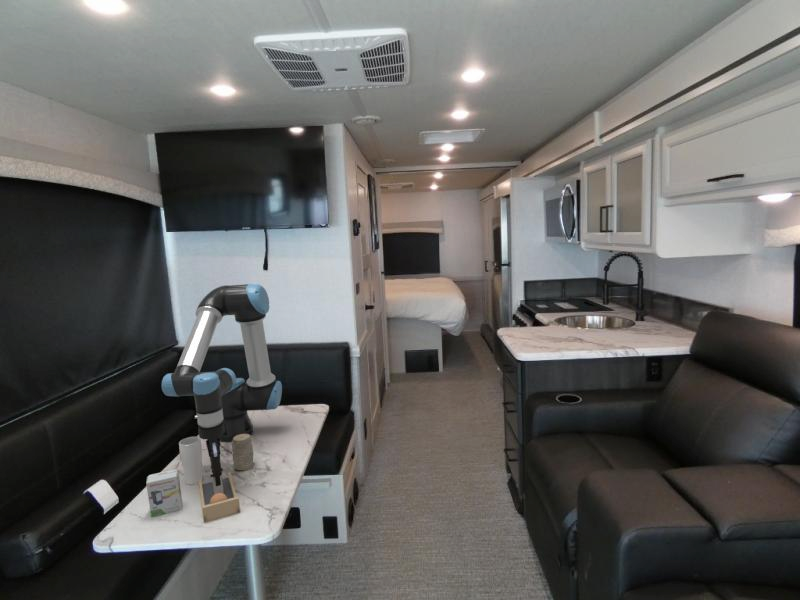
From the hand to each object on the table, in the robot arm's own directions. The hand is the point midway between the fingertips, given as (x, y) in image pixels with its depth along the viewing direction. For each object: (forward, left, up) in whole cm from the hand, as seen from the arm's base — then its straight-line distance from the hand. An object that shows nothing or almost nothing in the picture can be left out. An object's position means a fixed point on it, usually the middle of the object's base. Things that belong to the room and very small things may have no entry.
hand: (218, 493), depth 150 cm
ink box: (0, -15, -2) cm, 15 cm away
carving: (-16, +10, -2) cm, 19 cm away
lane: (+2, 0, -1) cm, 2 cm away
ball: (+10, -1, 0) cm, 10 cm away
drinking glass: (-15, -7, -2) cm, 16 cm away
